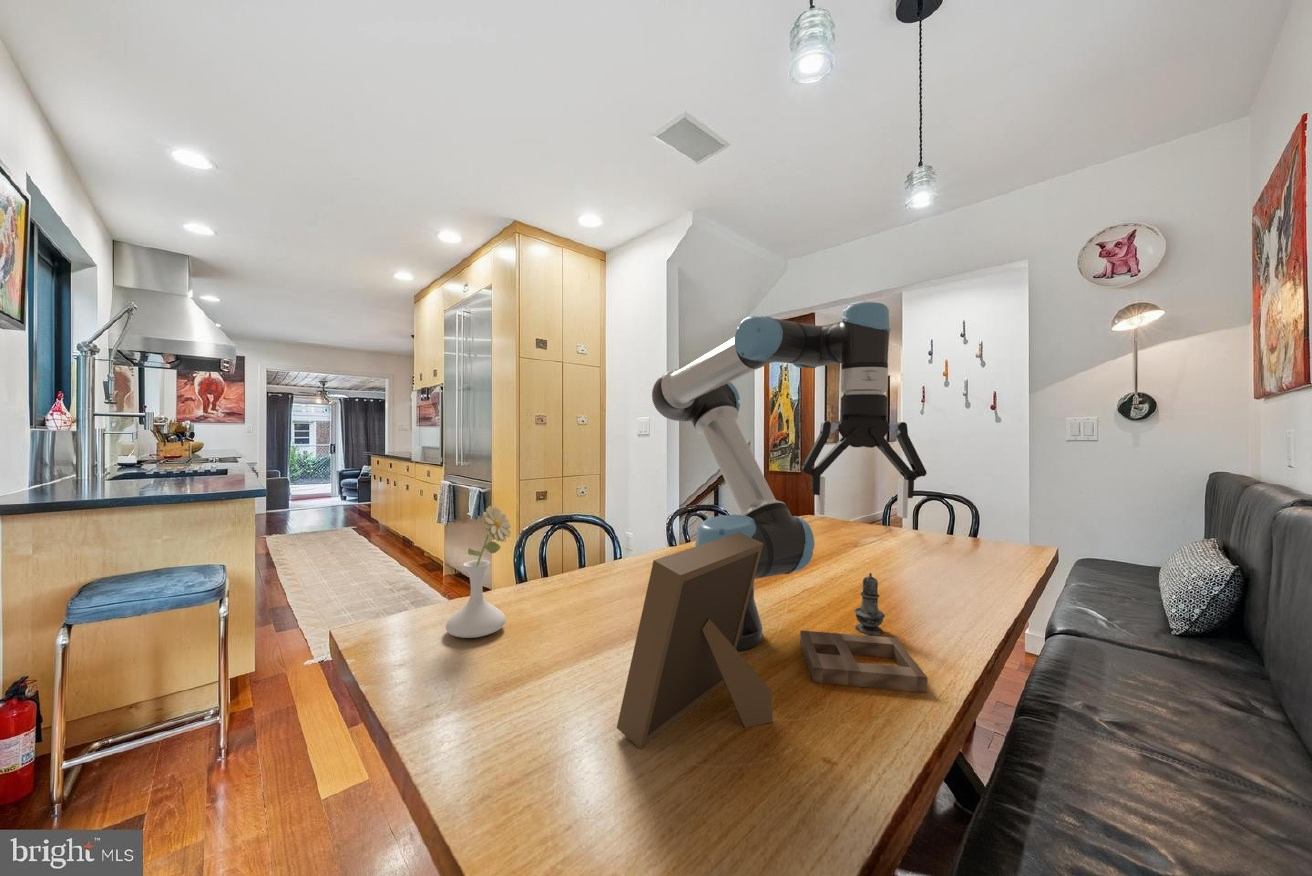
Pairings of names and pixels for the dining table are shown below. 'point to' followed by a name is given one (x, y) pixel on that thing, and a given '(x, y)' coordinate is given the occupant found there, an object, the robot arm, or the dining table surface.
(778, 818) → the dining table surface
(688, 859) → the dining table surface
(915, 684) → the socket board
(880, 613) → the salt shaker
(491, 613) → the flower in vase
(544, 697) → the dining table surface
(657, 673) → the photo frame
